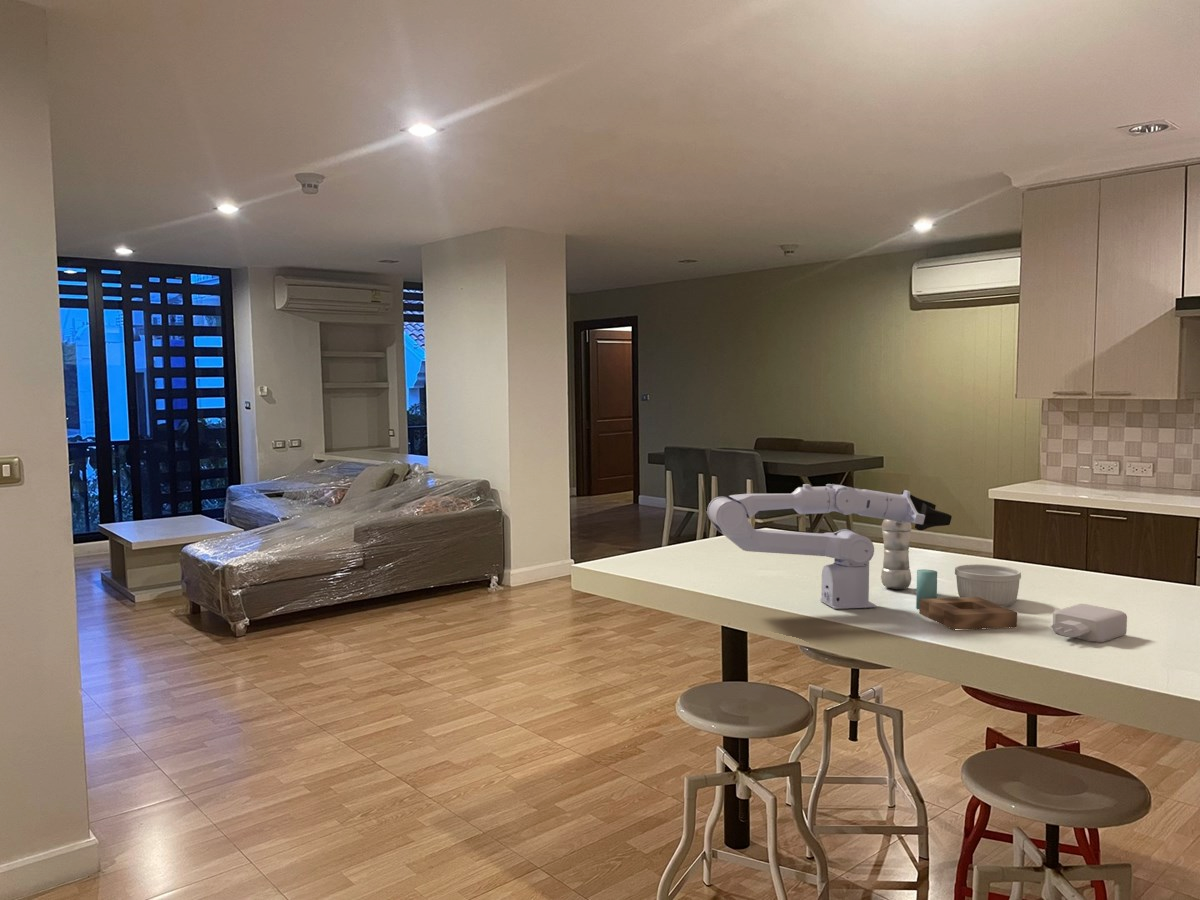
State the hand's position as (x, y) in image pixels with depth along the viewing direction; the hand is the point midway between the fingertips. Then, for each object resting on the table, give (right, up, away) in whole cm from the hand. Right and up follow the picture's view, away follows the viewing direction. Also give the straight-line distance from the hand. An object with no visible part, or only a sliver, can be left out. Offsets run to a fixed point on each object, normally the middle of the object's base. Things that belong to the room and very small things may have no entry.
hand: (942, 514), depth 184 cm
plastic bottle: (-5, -19, +15) cm, 24 cm away
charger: (+15, -21, -26) cm, 37 cm away
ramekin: (+11, -19, +3) cm, 22 cm away
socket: (-1, -20, -14) cm, 24 cm away
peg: (-5, -20, -4) cm, 21 cm away
